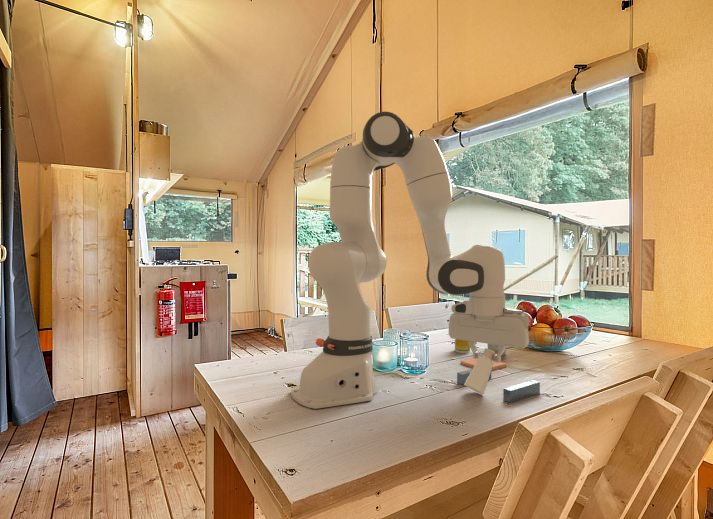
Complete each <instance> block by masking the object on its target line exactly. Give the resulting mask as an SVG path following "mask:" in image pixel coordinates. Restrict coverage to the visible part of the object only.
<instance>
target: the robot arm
mask: <svg viewBox="0 0 713 519" xmlns="http://www.w3.org/2000/svg"><path fill="white" fill-rule="evenodd" d="M394 164H396V165H397V166H398V167H399V168H400V170H401V172H402V174H403V177H404V181H405V185H406V188H407V192H408V196H409V197H410V201H411V204H412V206H413V210H414V212H415V214H416V216H417V219H418V222H419V224H420V227H421V228H420V229H421V232H422V236H423V241H424V244H425V248H426V254H427V267H426V280H427V283H428V285H429V287H430V288H431V289H432V290H433V291H436V292H437V293H441V294H446V295H451V296H461V295H466V294H469V299H468V300H464V301H463V300H462V302H458V303H454V304H453V305H451V312H452V314H451V315H450V317H449V320H448V336H449V337H450V339H452V340H455V339H459V340H465V341H469V346H470V351H472V358H475V359H479V357H480V356H482V355H481V354H482V352H481V351H480V350H478V349H477V346H476V345H477V344H478V343H479V344H481V343H482V344H493V345H498V349H499V350H500V351H499V352H498V354H495V355H493V361H494V362H498V363H500V362H502V356H501V355H502V354H503V352H504V351H505V349H506V350H507V348H516V349H524V348H526V347H528V346H529V344H530V336H529V335H530V334H529V326H530V316H529V315H528V313H527V312H524V311H523V310H520V309H511V308H506V293H505V291H504V287H505V286H504V285H505V281H506V267H505V266H506V264H505V257H504V254H503V251H502V250H501V249H500V248H499V247H496V246H491V245H483V244H475V245H472V247H471V248H469V249H468V250H465V251H464V252H462V253H459V254H457V255H454V256H453V255H452V253H451V250H450V245H449V241H448V237H447V232H446V231H447V230H446V226H445V223H446V222H445V221H446V215H447V213H448V210H449V207H450V206H451V204H452V202H453V201H452V200H453V191H452V190H453V188H452V182H451V181H452V180H451V178H450V175H449V174H450V173H449V170H448V168H447V164H446V162H445V158H444V157H443V153H442V151H441V149H440V147H439V145H438V143H437V141H435V139H434V138H432V137H430V136H425V135H423V136H422V135H421V136H415V133H414V131H413V130H412V129H411V128H410V127H409V126H408V125H407V124H406V123H405V121H403V120H402V119H401V117H400V116H398V114H395V113H393V112H390V111H379V112H377V113H374V114H373V115H372V116H371V117H369V118H368V120H367V122H366V123H365V125H364V127H363V130H362V139H361V141H360V142H359V143H358V144H354V145H352V144H351V145H345V146H343V147H340V148H338V150H337V151H336V152H335V153H334V156H333V161H332V165H331V173H330V181H329V182H330V185H329V186H330V187H329V190H330V191H329V218H330V221H331V223H332V224H334V225H335V227H336V229H337V231H338V234H339V236H340V240H341V241H331V242H326V243H322V244H319V245H317V246H315V247H314V248H313V249H312V251H311V252H310V254H309V255H308V256H309V257H308V262H307V263H308V271H309V274H310V275H311V278H312V279H313V280H314V281H315V282H317V284H319V286H320V288H321V289H322V292H323V294H324V297H325V300H326V304H327V305H326V306H327V310H328V316H327V317H328V336H327V337H326V339H325V340H324V339H322V338H320V337H318V338H316V340H315V345H316V346H317V347H320V348H322V351H321V352H320V353H319V354H318V355H317V356H316V357H315V358H314V359H313V360H311V362H309V363H308V364H307V365H306V366H305V367H304V368H303V369H302V371H301V375H300V378H299V385H298V386H294V387H292V388H291V392H290V396H291V398H292V399H293V400H294V401H295V402H297V403H298V404H300V405H301V406H304V407H306V408H309V409H315V410H317V409H322V408H323V409H324V408H329V407H337V406H343V405H350V404H356V403H357V404H358V403H364V402H368V401H372V400H373V397H374V396H373V395H375V394H376V392H377V391H378V388H377V384H376V381H375V375H374V370H373V360H372V352H373V336H372V335H371V334H372V333H371V331H372V330H371V329H372V328H371V327H372V326H371V325H372V324H371V322H372V321H371V317H372V316H371V314H372V313H371V312H372V311H371V310H372V309H371V306H370V304H369V303H368V302H367V301H366V300H365V299H364V297H363V295H362V292H361V288H360V283H363V284H364V283H369V282H371V281H374V280H375V279H378V278H379V277H381V276H382V275H383V274H384V273H385V271H386V270H387V264H388V262H387V261H388V260H387V256H386V253H385V252H384V251H383V249H382V248H381V246H380V245H379V244H380V243H379V242H378V239H377V235H376V232H375V228H374V222H373V179H374V178H373V176H374V172H376V171H378V170H382V169H385V168H388V167H391V166H393V165H394ZM506 346H507V347H506Z"/></svg>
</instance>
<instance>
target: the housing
mask: <svg viewBox="0 0 713 519" xmlns="http://www.w3.org/2000/svg"><path fill="white" fill-rule="evenodd" d="M472 369H473V368H471V369H467V370H462V371H458V372H456V374H457V375H456V382H457V384H458V385H461V386H465V385H464V383H465V382H466V380H467V378H468V376H469V375H470V373H471V371H472ZM491 378H492V372H491V373H490V376H489V379H491ZM540 391H541V383H540V381H538V380H535V379H532V380H528V381H524V382H521V383H518V384H514V385H510V386H508V387H503V391H502V392H503V393H502V395H503V398H502V399H503V400H502V401H503V402H506V403H509V404H512V403H515V402H518V401H521V400H525V399H528V398H530V397H534V396H538V395H540V394H541V392H540Z"/></svg>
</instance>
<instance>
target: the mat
mask: <svg viewBox="0 0 713 519" xmlns="http://www.w3.org/2000/svg"><path fill="white" fill-rule="evenodd" d="M477 361H478V359H475V358H473V357H472V358H468V359H464V360H460V361H459V362H460V365H462V366H466V367H469V368H471V369H473V368H474V366H475V364H476V362H477ZM492 361H493V360H492ZM503 368H507V362H502V361H501V362H500V363H498V362H494V361H493V366H492V369H491V372H492V371H495V370H499V369H503Z"/></svg>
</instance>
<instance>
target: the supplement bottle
mask: <svg viewBox="0 0 713 519" xmlns="http://www.w3.org/2000/svg"><path fill="white" fill-rule="evenodd" d="M454 351H455V352H456V353H459V354H468V352H469V353H470V352H471V348H470V346H469V341H465V340H459V339H454Z"/></svg>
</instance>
